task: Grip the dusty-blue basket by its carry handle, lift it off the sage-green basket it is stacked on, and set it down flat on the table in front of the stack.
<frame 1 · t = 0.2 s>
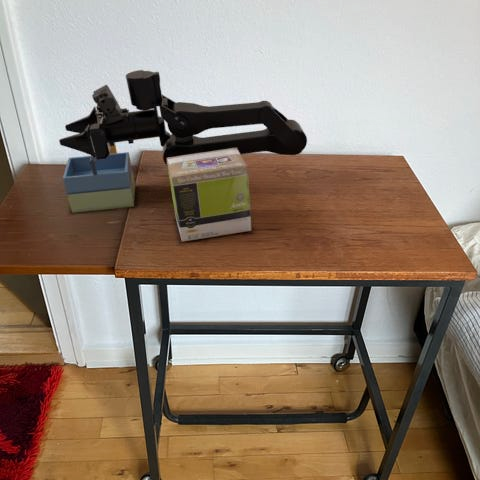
hand: (62, 134, 114), 17 cm above the table, tool horizontal, fingers open, 9 cm apart
blue basket: (100, 181, 124), point 4 cm above the table, touching sage basket
tea box: (212, 227, 115), on the table
sage basket: (104, 198, 127), on the table, touching blue basket
supplement box: (112, 172, 138), on the table
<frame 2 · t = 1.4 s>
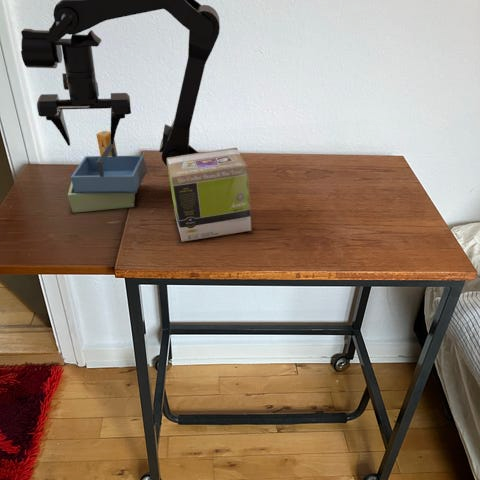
hand: (90, 144, 118), 13 cm above the table, tool pointing down, fingers open, 9 cm apart
blue basket: (111, 182, 123), point 5 cm above the table, touching sage basket
everything else where it was.
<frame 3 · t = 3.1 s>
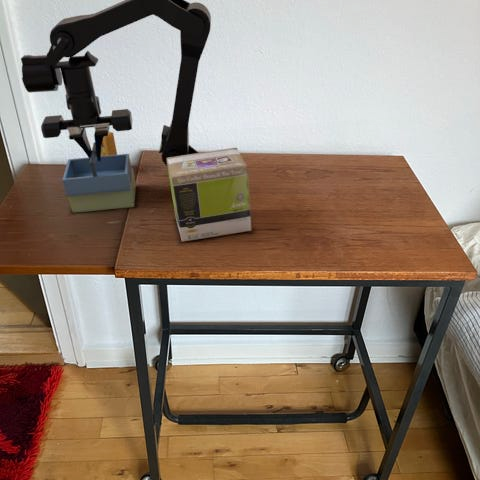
hand: (96, 161, 121), 9 cm above the table, tool pointing down, fingers closed on blue basket
blue basket: (100, 182, 123), point 5 cm above the table, touching gripper, sage basket
everything else where it was.
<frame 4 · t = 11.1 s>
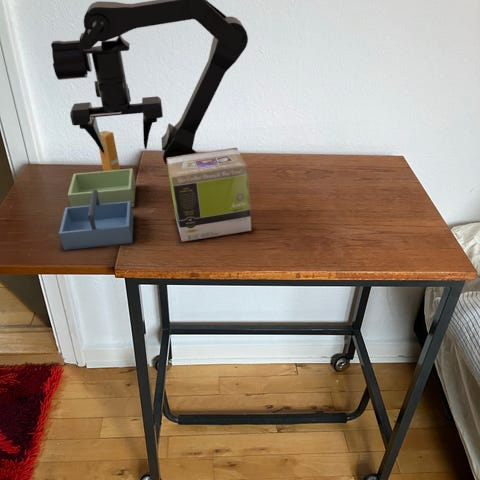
hand: (124, 150, 118), 12 cm above the table, tool pointing down, fingers open, 9 cm apart
blue basket: (100, 232, 114), on the table
sage basket: (105, 198, 126), on the table
everything else where it was.
at the end: blue basket inside the target area (0.9 cm from its centre), on the table; blue basket tilted 0°; sage basket moved 0.1 cm from its start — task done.
